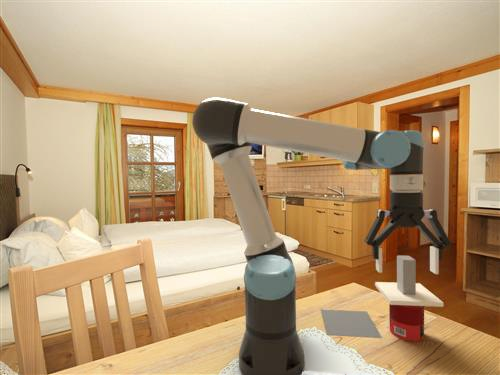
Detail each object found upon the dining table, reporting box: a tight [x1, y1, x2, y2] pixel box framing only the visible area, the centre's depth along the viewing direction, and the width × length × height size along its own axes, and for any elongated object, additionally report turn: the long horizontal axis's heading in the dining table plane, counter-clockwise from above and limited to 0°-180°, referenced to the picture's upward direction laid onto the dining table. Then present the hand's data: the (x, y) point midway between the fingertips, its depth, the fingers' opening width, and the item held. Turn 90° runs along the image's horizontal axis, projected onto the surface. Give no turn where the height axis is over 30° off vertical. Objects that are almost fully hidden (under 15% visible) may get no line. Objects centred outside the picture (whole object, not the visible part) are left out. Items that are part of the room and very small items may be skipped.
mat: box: [319, 309, 383, 339], centre depth 78 cm, size 14×14×1 cm
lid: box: [374, 254, 445, 308], centre depth 72 cm, size 12×12×10 cm
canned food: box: [388, 302, 425, 343], centre depth 72 cm, size 8×8×11 cm
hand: (406, 271), depth 72 cm, fingers open, 13 cm apart
